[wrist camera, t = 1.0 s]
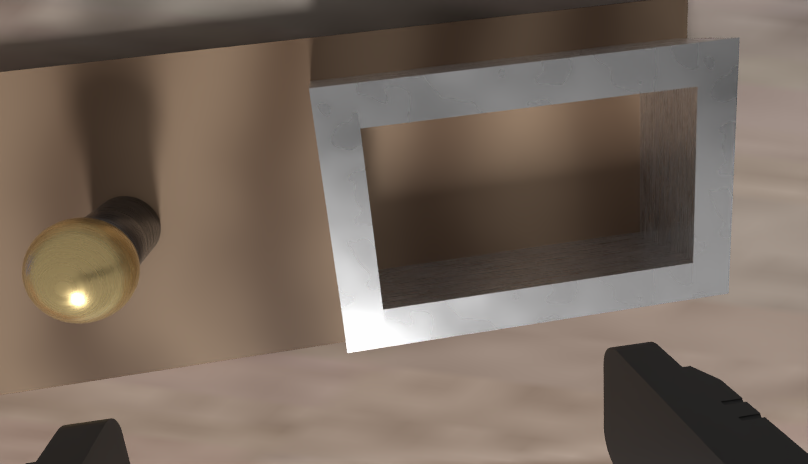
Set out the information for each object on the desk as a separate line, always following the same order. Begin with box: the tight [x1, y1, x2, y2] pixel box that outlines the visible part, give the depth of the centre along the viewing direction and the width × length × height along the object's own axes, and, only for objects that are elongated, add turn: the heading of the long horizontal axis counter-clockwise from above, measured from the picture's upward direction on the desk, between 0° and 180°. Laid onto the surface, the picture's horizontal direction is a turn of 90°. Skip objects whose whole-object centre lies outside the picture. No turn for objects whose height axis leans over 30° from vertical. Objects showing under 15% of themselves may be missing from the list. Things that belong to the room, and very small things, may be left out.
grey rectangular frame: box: [309, 38, 739, 353], centre depth 24 cm, size 14×9×4 cm, turn 96°
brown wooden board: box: [0, 0, 688, 395], centre depth 25 cm, size 32×12×1 cm, turn 96°
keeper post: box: [22, 196, 161, 324], centre depth 21 cm, size 3×3×6 cm
